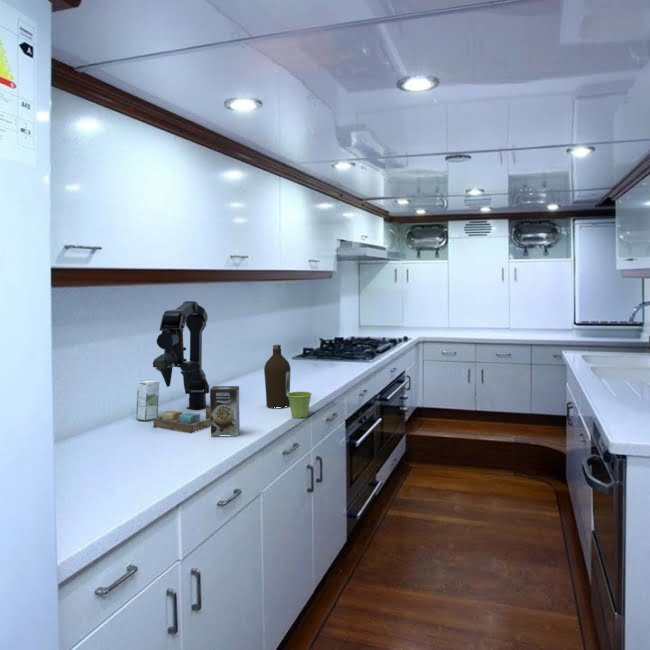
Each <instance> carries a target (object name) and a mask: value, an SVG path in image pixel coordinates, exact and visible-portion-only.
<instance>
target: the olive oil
mask: <svg viewBox="0 0 650 650" xmlns="http://www.w3.org/2000/svg"><path fill="white" fill-rule="evenodd" d="M281 347H282V345H281V344H273V345H272V355H271V356H270V357H269V359H268V360H267V361H266V362H265V364H264V366H263V367H264V368H263V371H264V385H265V386H264V387H265V397H266V398H265V399H266V400H265V403H266V407H267V406H268V407H273V408H272V409H274V407H275V408H276V407H285V406H289V405H290V402H289V399H288V396H287V394H288V393H291V373H292V372H291V364H290V363H289V361H288V360H287V359H286V358H285V357H284V356H283V354H282V348H281ZM268 407H267V408H268ZM289 407H290V406H289Z"/></svg>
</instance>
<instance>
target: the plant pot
mask: <svg viewBox="0 0 650 650" xmlns="http://www.w3.org/2000/svg"><path fill="white" fill-rule="evenodd" d="M312 394H313V393H312V392H311V391H310V392H309V391H290V393H288V394H287V396H288V399H289V402H290V406H289V407H290V413H291V416H293V417H292V418H294V419H300V418H308V417H309V410H310V409H309V408H310V402H311V401H310V399H311V396H312Z"/></svg>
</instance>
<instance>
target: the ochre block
mask: <svg viewBox="0 0 650 650" xmlns="http://www.w3.org/2000/svg"><path fill="white" fill-rule="evenodd" d="M182 414H183V411H181V410H175V409H170V410H167V411H164V412H161V417H162V420H168V421H175V420H179V415H182Z"/></svg>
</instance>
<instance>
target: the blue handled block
mask: <svg viewBox="0 0 650 650" xmlns="http://www.w3.org/2000/svg"><path fill="white" fill-rule="evenodd" d="M179 419H180V423H186V424H193V423H196V422H199V421H201V413H195V412H191V411H190V412H186V413H182V415H179ZM205 419H211V416H210V406H209V407H206V408H205Z"/></svg>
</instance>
